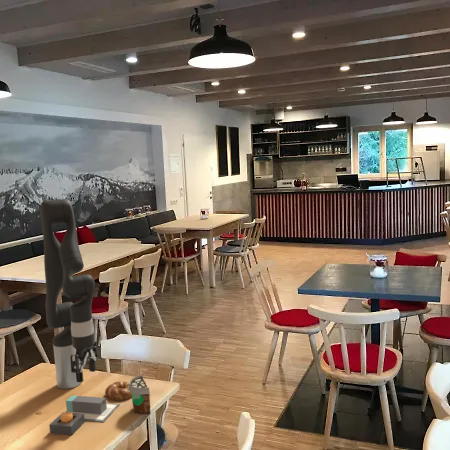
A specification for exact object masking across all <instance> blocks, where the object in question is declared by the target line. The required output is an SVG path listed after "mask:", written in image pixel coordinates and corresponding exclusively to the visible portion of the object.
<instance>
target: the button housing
mask: <svg viewBox="0 0 450 450" xmlns="http://www.w3.org/2000/svg"><path fill="white" fill-rule="evenodd" d="M65 412H66V411H65ZM65 412H64V411H62V412H61V414H63V413H65ZM61 414H59V415H58V416H57V417H56V418H55V419H54V420H53V421H52V422H50V423H49V425H48V426H49V434H55V435H65V436H73V435H74V434H75V432H77V431H78V430H79V429H80V428H81V427H82V426H83V425H84V424H85V422H86V421H85V419H84V414H78V413H72V414H73V420H72V421H71V422H70V423H61Z"/></svg>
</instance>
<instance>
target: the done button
mask: <svg viewBox="0 0 450 450" xmlns="http://www.w3.org/2000/svg"><path fill="white" fill-rule="evenodd" d="M62 413H63V412H62ZM62 413H61V423H70V422H71V421H72V420H73V414H72V412H66V411H65V413H63V414H62Z"/></svg>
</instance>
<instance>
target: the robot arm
mask: <svg viewBox="0 0 450 450" xmlns="http://www.w3.org/2000/svg"><path fill="white" fill-rule="evenodd" d="M39 207H40V221H41V222H40V223H41V228H42V229H41V230H42V237H43V253H44V254H43V255H44V256H43V259H44V260H43V262H44V278H45V279H44V280H45V289H46V290H45V291H46V292H45V293H46V294H45V296H46V301H45V317H46V324H47V327H48V328H49V329H51V330H53V329H54V330H55V329H60V328H64V329H63V330H62V331H60V332H59V333H57V334H56V335H54V336H53V338H52V345H53V346H52V348H53V356H54V365H55V375H56V376H55V377H56V383H57V388H58V389H60V390H67V389H68V390H69V389H74V388H76V387H78V386H79V385H80V384H82V383H83V382H84V373H83V372H84V371H83V370H84V367H85V366H86V363H87V361H88V369H89V372H92V373H94V372H96V370H97V369H96V368H97V367H96V366H97V365H96V361H97V358H99V347H98V341H97V340H95V328H94V327H95V325H94V321H93V313H92V304H93V303H92V302H93V297H94V292H95V287H96V286H95V285H96V282H95V278H94V277H93V276H92V275H90V274H81V275H75V274H78V273H80V272H82V271H83V269H84V268H85V266H84V261H83V257H82V254H81V251H80V246H79V242H78V233H77V232H78V231H77V225H76V218H75V212H74V208H73V205H72V202H71V201H70V200H69V199H66V198H62V199H61V198H60V199H49V200H43V201H41V204H40V206H39ZM56 225H65V226H66V229H65V233H64V237H63V238H62V240H61V242H60V241H59V240H58V238H57V237H56V235H55V233H54V231H53V226H56ZM73 275H75V276H73ZM61 291H62V293H63V294H64V296H66V297H67V298H69V299H73V298H79V297H81V299H80V300H78V301H76V302H74V303H73V302H72V301H67V302H61V303H58V297H59V295H60V292H61Z"/></svg>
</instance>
